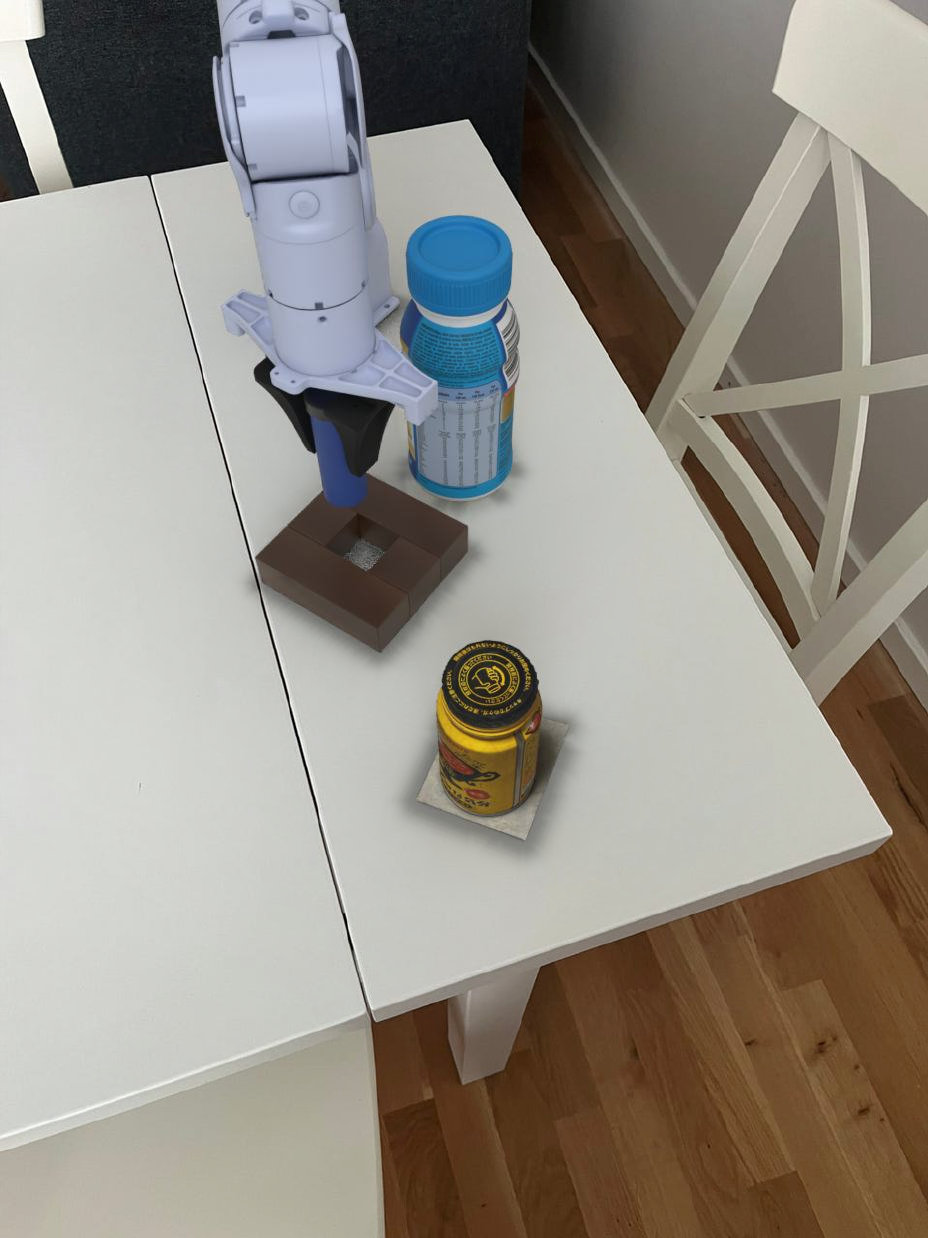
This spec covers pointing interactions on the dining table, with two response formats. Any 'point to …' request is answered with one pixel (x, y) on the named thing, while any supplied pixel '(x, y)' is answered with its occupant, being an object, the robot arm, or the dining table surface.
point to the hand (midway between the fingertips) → (342, 454)
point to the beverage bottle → (462, 355)
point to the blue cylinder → (332, 453)
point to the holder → (347, 593)
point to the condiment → (492, 739)
